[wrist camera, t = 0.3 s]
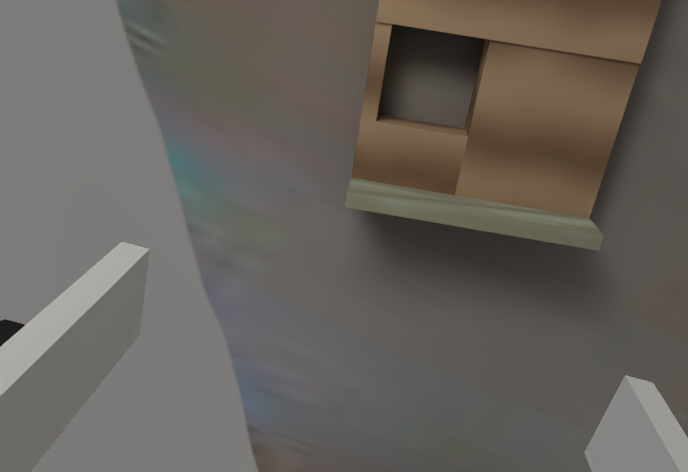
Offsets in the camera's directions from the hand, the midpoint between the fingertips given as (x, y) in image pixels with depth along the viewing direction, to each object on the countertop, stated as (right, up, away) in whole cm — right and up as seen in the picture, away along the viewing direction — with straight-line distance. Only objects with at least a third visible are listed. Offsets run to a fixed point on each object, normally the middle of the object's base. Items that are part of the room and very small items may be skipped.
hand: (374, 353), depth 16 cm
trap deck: (+10, +18, +21) cm, 29 cm away
